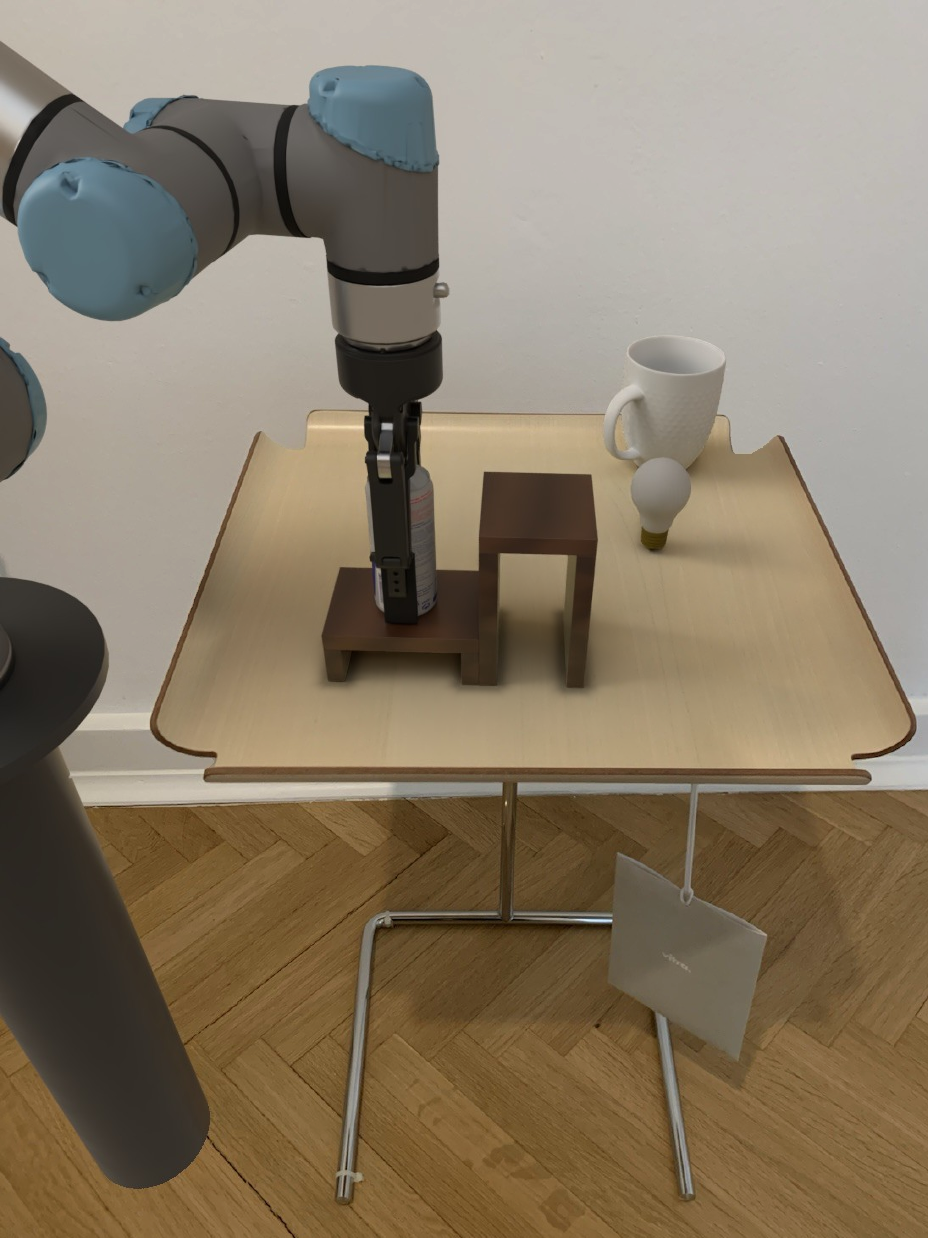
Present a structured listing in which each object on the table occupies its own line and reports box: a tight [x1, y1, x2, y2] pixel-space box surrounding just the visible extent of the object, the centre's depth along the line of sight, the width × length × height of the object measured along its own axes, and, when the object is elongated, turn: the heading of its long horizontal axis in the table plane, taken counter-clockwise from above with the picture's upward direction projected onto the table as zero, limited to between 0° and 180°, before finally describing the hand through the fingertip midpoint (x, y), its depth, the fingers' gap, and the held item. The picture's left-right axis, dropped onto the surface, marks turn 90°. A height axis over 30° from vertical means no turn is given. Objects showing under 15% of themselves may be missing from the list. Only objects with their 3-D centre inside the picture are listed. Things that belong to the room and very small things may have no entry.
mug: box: [602, 334, 727, 470], centre depth 106 cm, size 15×11×13 cm
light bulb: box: [630, 457, 692, 551], centre depth 94 cm, size 6×6×10 cm
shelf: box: [320, 471, 599, 689], centre depth 80 cm, size 22×10×15 cm, turn 89°
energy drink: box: [364, 464, 437, 616], centre depth 77 cm, size 5×5×12 cm
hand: (405, 598), depth 81 cm, fingers closed on energy drink, 5 cm apart
